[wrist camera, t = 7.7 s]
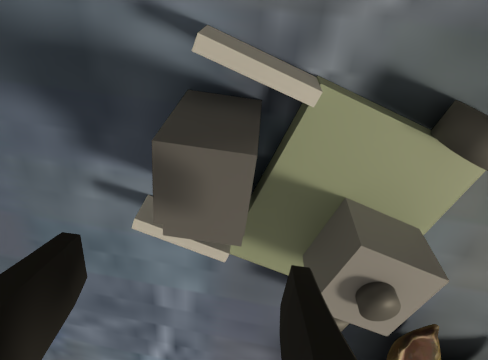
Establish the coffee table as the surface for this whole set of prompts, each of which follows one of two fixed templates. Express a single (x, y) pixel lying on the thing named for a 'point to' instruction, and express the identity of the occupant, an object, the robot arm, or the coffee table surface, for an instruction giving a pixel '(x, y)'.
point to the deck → (348, 192)
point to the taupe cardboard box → (206, 167)
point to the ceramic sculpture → (417, 345)
